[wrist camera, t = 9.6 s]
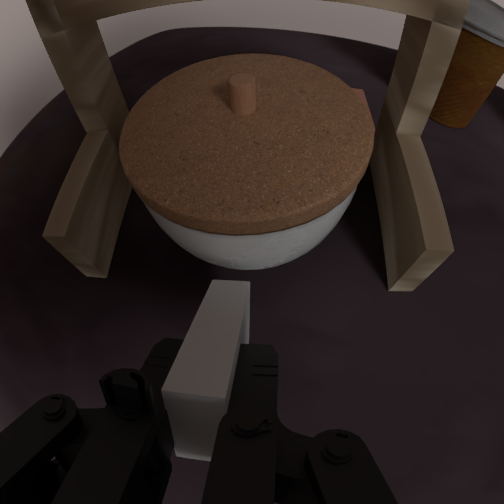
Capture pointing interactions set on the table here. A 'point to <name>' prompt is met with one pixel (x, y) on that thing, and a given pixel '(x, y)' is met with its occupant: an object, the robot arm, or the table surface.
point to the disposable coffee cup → (472, 65)
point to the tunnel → (381, 161)
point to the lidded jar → (247, 157)
